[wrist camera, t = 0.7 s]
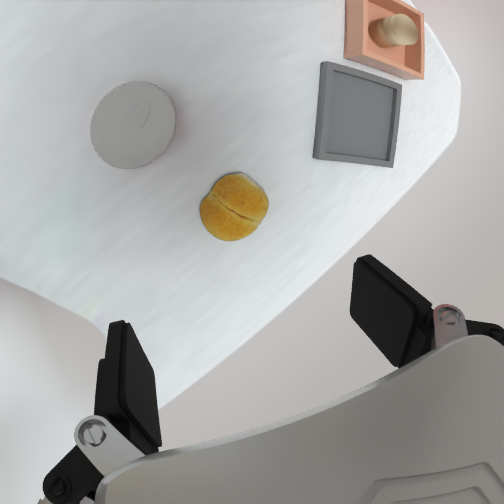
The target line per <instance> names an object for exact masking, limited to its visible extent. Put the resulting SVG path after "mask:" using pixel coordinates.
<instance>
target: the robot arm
mask: <svg viewBox="0 0 504 504" xmlns="http://www.w3.org/2000/svg"><path fill="white" fill-rule="evenodd" d="M431 306H432V303H430V302H429V301H428V300H427V299H426V298H424V297H423V296H422V295H421V294H420V293H418V292H417V291H416V290H415V289H414V288H412V287H411V286H410V285H409V284H407V283H406V282H405V281H404V280H402V279H401V278H400V277H399V276H397V275H396V274H395V273H394V272H392V271H391V270H390V269H389V268H387V267H386V266H385V265H384V264H382V263H381V262H380V261H378V260H377V259H376V258H374V257H373V256H372V255H365V256H362V257H359V258H357V260H356V262H355V263H354V268H353V282H352V293H351V303H350V315H351V317H352V318H353V320H354V321H355V322H356V323H357V324H358V325H359V326H360V328H361V329H362V330H363V331H364V332H365V333H366V335H367V336H368V337H369V338H370V339H371V340H372V342H373V343H374V344H375V345H376V346H377V347H378V349H379V350H380V351H381V352H382V353H383V354H384V355H385V357H386V358H387V359H388V360H389V361H390V363H391V364H392V365H393V366H395V367H398V368H399V369H397V370H396V371H394V372H392V373H390V374H388V375H386V376H384V377H382V378H380V379H378V380H376V381H374V382H372V383H370V384H368V385H366V386H364V387H361V388H360V389H357V390H355V391H353V392H351V393H348V394H346V395H344V396H342V397H339V398H337V399H335V400H332V401H330V402H328V403H325V404H323V405H320V406H318V407H315V408H313V409H310V410H307V411H305V412H302V413H300V414H297V415H294V416H291V417H288V418H285V419H283V420H280V421H277V422H274V423H271V424H268V425H265V426H262V427H258V428H255V429H251V430H248V431H245V432H241V433H238V434H234V435H230V436H227V437H222V438H219V439H214V440H210V441H207V442H202V443H198V444H194V445H189V446H184V447H179V448H175V449H171V450H167V451H162V452H159V450H158V447H161V446H162V440H161V433H160V425H159V416H158V406H157V396H156V385H155V375H154V371H153V368H152V366H151V364H150V362H149V361H148V359H147V357H146V355H145V353H144V351H143V349H142V347H141V345H140V343H139V341H138V339H137V337H136V334H135V332H134V330H133V328H132V326H131V324H130V323H125V321H124V320H121V321H116V322H112V323H110V324H109V329H108V337H107V344H106V353H105V359H101V360H100V361H99V364H98V373H97V383H96V394H95V408H94V415H93V416H89V417H86V418H85V419H83V420H81V422H79V424H78V425H77V427H76V429H75V433H74V438H75V442H76V444H77V445H76V446H75V447H74V448H73V449H72V450H71V451H70V452H69V453H68V454H67V455H66V456H65V457H64V458H63V459H62V460H61V461H60V462H59V463H58V464H57V465H56V466H55V467H54V468H53V469H52V470H51V471H50V472H49V473H48V474H47V475H46V477H45V478H44V482H43V492H44V494H45V497H44V499H43V500H42V499H40V500H39V502H38V504H504V329H503V328H502V327H500V326H499V325H496V324H492V323H485V322H478V321H471V320H465V317H464V315H463V313H462V311H461V310H460V309H458V308H457V307H455V306H453V305H449V304H442V305H439V306H437V307H436V308H435V309H434V310H433V309H432V308H431Z"/></svg>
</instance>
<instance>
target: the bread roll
mask: <svg viewBox="0 0 504 504" xmlns="http://www.w3.org/2000/svg"><path fill="white" fill-rule="evenodd" d="M268 205H269V201H268V198H267V195H266V194H265V191H264V189H263V188H262V187H261V186H259V185H258V184H257V183H256V182H255V181H253V180H252V179H251V178H249V177H247V176H246V175H245V174H243V173H237V174H230V175H227V176H224V177H223V178H222V179H220V180H219V181H218V182H217V183H216V184H215V185H214V187H213V189H212V191H211V192H210V193H209V195H208V196H207V197H206V198H205V199H204V200H203V201H202V203H201V206H200V215H201V219H202V222H203V224H204V226H205V227H206V229H207V230H208V232H209V233H210V234H212V235H213V236H214V237H216V238H218V239H220V240H225V241H235V240H239V239H242V238H244V237H246V236H248V235H250V234H251V233H252V232H253V231H254V230H256V228H257V227H258V225H259V224H260V222H261V221H262V219H263V218H264V217H265V215H266V213H267V209H268Z"/></svg>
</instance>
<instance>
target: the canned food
mask: <svg viewBox="0 0 504 504" xmlns="http://www.w3.org/2000/svg"><path fill="white" fill-rule="evenodd" d="M175 127H176V114H175V109H174V106H173V103H172V101H171V100H170V98H169V96H168V95H167V94H166V93H165V92H164V91H163V90H162V89H160V88H159V87H157V86H155V85H153V84H150V83H145V82H131V83H127V84H123V85H121V86H119V87H117V88H115V89H113V90H112V91H111V92H109V93H108V94H107V95H106V96H105V97H104V98H103V99H102V100H101V102H100V103H99V105H98V106H97V108H96V110H95V112H94V115H93V118H92V122H91V139H92V143H93V146H94V148H95V150H96V152H97V153H98V155H99V156H100V157H101V158H102V159H103V160H104V161H105V162H107V163H108V164H110V165H111V166H114V167H117V168H122V169H134V168H138V167H142V166H145V165H147V164H149V163H151V162H152V161H154V160H155V159H156V158H158V157H159V156H160V155H161V154H162V153H163V152H164V151H165V149H166V148H167V147H168V145H169V144H170V142H171V139H172V137H173V135H174V131H175Z"/></svg>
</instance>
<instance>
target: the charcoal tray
mask: <svg viewBox="0 0 504 504" xmlns="http://www.w3.org/2000/svg"><path fill="white" fill-rule="evenodd" d="M401 92H402V85H401V84H398V83H396V82H393V81H390V80H387V79H385V78H382V77H379V76H376V75H373V74H370V73H367V72H364V71H360V70H357V69H354V68H350V67H347V66H343V65H340V64H336V63H332V62H328V61H327V62H323V63H321V70H320V84H319V96H318V108H317V119H316V130H315V140H314V150H313V158H316V159H320V160H331V161H341V162H350V163H359V164H367V165H375V166H382V167H389V168H393V163H394V157H395V150H396V142H397V134H398V125H399V116H400V105H401Z"/></svg>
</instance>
